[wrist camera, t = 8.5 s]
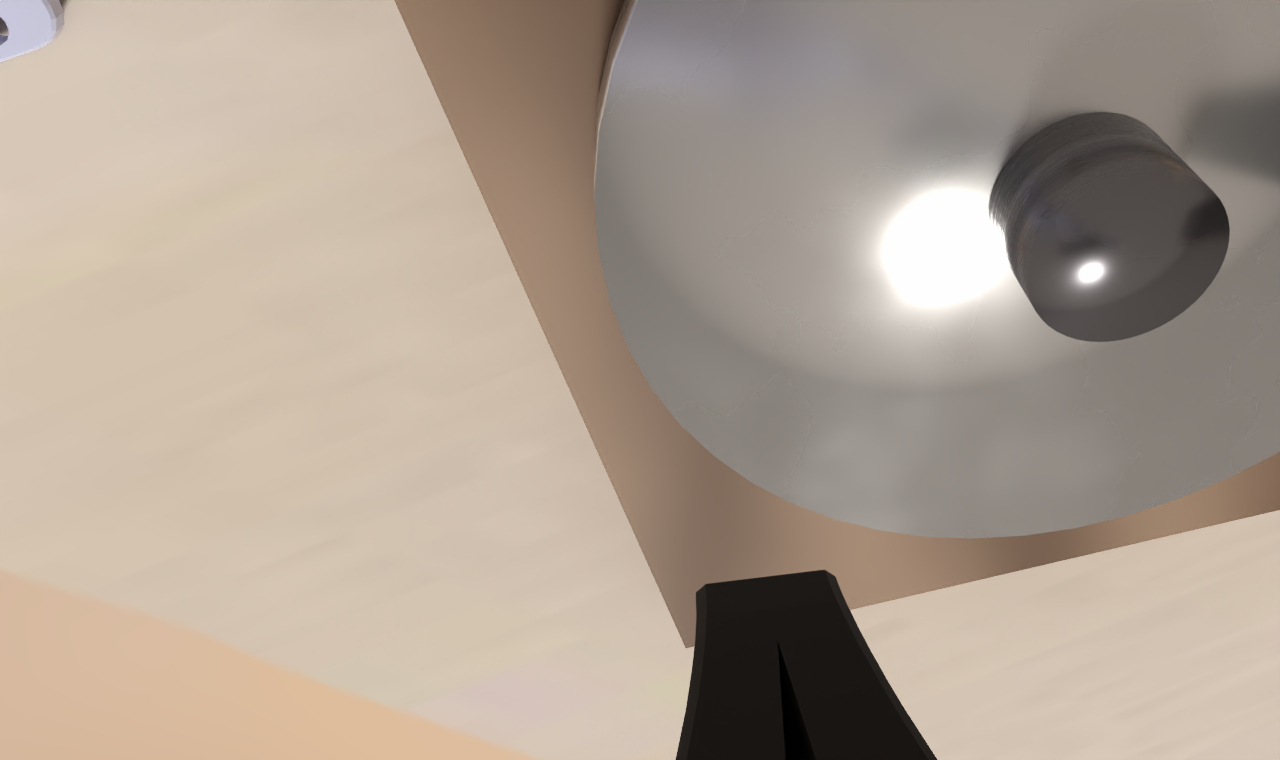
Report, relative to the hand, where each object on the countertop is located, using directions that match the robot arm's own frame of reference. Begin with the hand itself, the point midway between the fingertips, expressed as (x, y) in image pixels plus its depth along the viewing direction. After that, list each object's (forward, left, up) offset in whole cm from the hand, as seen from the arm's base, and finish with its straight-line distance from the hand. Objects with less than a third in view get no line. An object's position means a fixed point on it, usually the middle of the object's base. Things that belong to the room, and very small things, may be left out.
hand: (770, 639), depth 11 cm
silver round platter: (+6, +1, -8) cm, 10 cm away
